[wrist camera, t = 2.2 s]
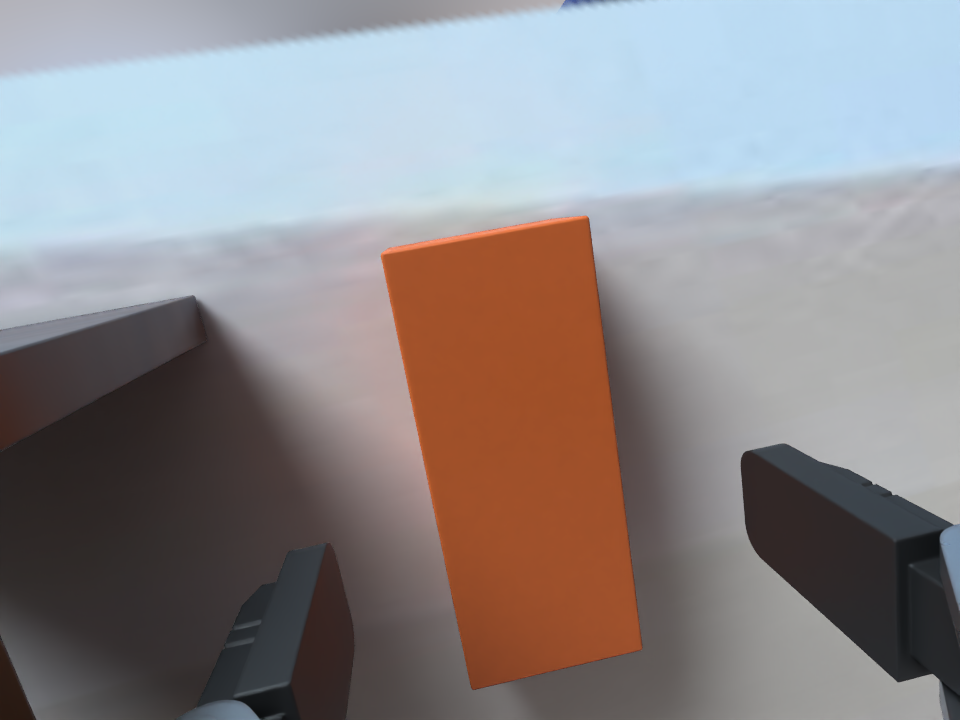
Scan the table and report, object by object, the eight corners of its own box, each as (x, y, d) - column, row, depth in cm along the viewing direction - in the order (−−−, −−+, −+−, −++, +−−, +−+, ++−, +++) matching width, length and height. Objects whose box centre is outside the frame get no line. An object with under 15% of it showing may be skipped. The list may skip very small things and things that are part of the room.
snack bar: (385, 248, 15) (380, 252, 12) (555, 218, 15) (589, 215, 12) (461, 615, 18) (471, 691, 15) (606, 582, 18) (643, 651, 15)
